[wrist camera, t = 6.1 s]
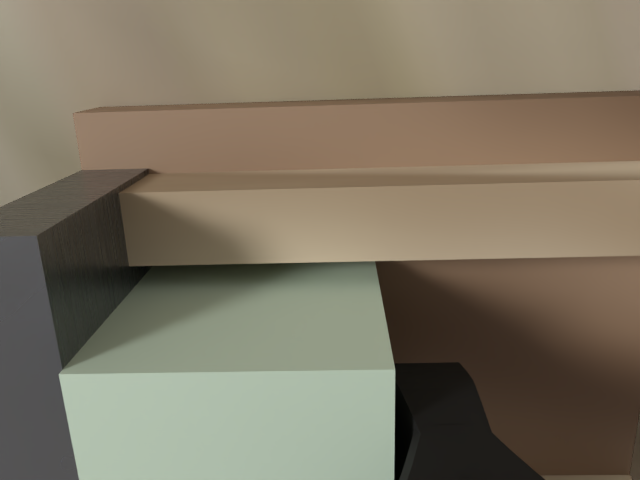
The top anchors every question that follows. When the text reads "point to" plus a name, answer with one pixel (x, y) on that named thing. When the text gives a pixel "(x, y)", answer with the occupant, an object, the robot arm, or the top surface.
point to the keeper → (238, 377)
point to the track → (358, 249)
